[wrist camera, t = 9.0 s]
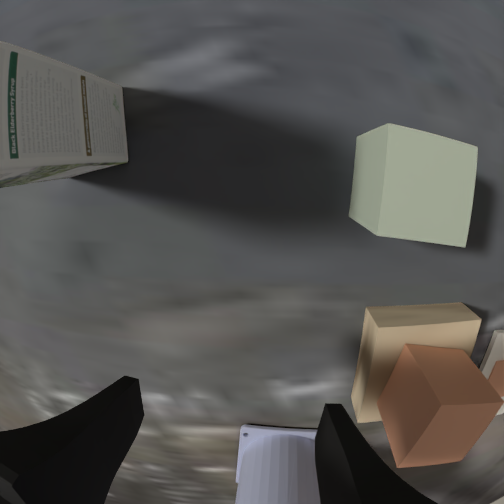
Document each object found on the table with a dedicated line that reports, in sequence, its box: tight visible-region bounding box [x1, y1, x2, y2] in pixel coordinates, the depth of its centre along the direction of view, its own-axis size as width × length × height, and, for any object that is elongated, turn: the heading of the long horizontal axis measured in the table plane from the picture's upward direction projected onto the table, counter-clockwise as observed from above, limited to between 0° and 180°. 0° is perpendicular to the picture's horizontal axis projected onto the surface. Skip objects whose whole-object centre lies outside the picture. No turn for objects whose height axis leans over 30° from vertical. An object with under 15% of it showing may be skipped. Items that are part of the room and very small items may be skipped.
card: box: [479, 330, 504, 415], centre depth 20 cm, size 10×7×1 cm
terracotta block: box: [377, 344, 504, 468], centre depth 15 cm, size 5×5×6 cm
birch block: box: [351, 302, 482, 423], centre depth 20 cm, size 8×8×4 cm
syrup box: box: [0, 41, 128, 188], centre depth 12 cm, size 6×6×14 cm
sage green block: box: [349, 123, 478, 247], centre depth 15 cm, size 5×5×6 cm
